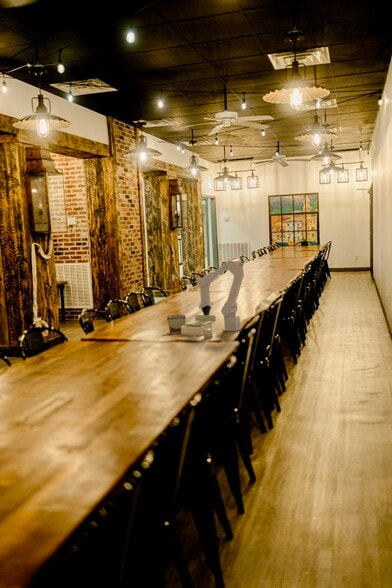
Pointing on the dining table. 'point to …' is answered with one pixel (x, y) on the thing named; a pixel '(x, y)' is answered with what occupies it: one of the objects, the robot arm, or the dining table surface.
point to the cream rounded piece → (208, 333)
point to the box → (194, 329)
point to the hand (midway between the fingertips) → (206, 317)
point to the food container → (176, 322)
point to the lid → (202, 320)
